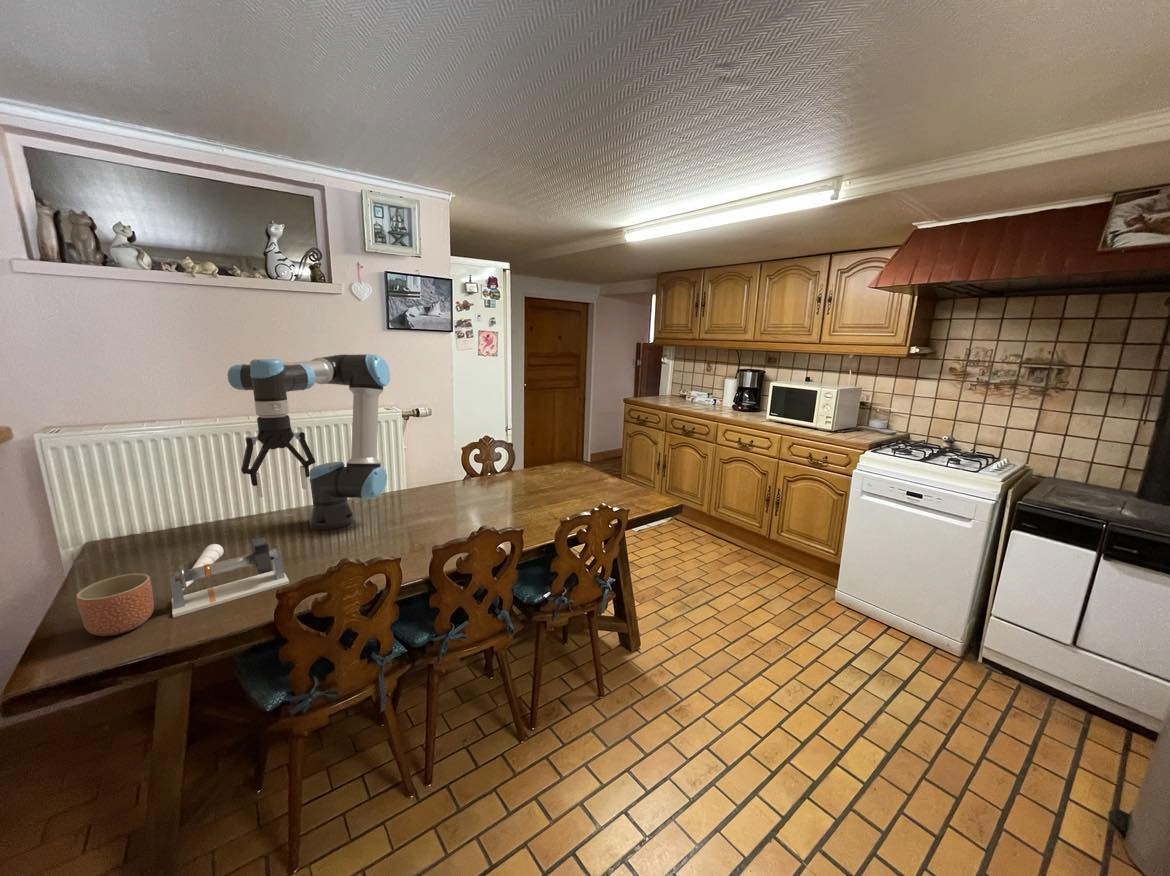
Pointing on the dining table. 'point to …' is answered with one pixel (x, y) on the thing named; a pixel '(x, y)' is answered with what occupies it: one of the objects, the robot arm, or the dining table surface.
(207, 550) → the unicorn horn
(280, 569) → the linear slide rail
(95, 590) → the planter
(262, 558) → the collar
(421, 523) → the dining table surface
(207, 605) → the board
